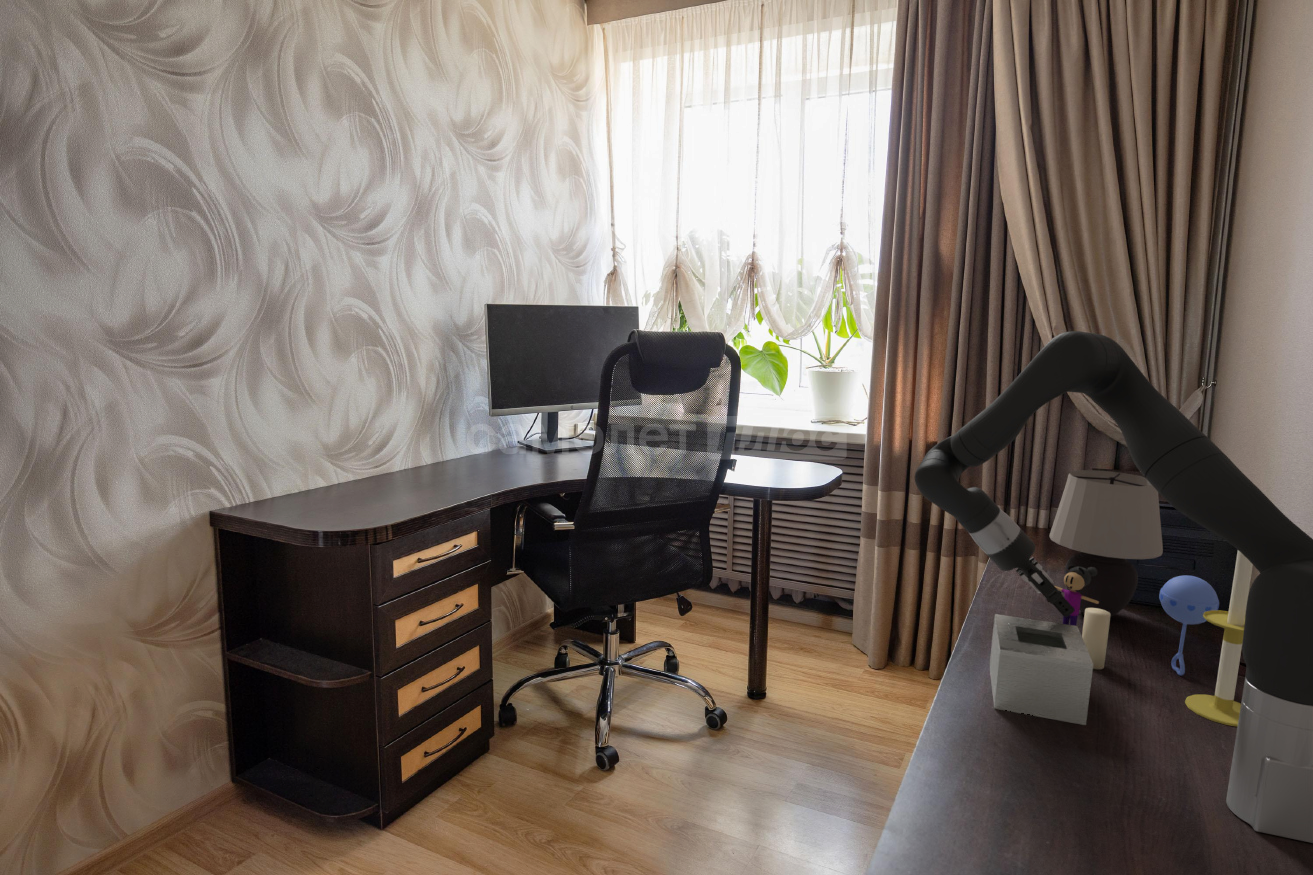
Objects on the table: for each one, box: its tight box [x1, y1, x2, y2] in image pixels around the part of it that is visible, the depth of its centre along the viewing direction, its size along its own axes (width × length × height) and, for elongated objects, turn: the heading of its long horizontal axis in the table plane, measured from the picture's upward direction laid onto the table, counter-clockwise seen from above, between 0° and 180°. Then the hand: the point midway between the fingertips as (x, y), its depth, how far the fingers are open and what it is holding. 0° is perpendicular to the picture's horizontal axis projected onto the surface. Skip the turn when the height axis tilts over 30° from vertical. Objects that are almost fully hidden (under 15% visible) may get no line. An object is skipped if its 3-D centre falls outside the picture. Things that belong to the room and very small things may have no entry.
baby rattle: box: [1158, 575, 1220, 676], centre depth 137 cm, size 9×9×18 cm
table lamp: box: [1049, 469, 1164, 618], centre depth 163 cm, size 21×21×30 cm
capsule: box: [1081, 608, 1111, 670], centre depth 140 cm, size 4×4×10 cm
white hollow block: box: [989, 613, 1094, 726], centre depth 128 cm, size 16×13×10 cm
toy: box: [1054, 565, 1099, 626], centre depth 151 cm, size 10×6×15 cm, turn 27°
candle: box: [1184, 550, 1254, 728], centre depth 122 cm, size 10×10×32 cm
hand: (1062, 604), depth 140 cm, fingers open, 8 cm apart
